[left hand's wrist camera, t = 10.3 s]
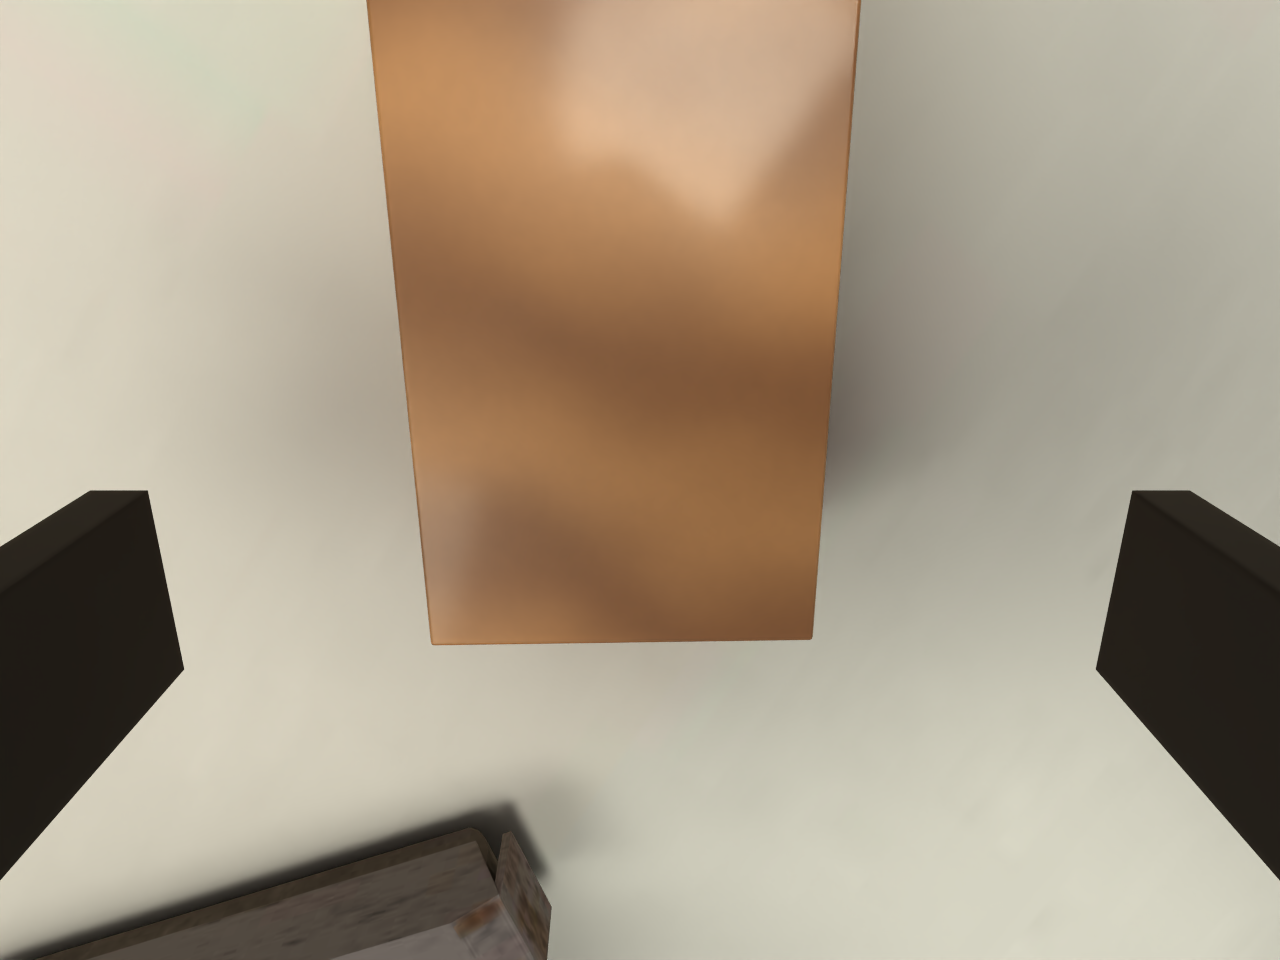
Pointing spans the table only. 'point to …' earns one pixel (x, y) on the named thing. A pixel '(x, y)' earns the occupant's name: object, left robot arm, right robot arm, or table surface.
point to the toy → (365, 913)
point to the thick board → (617, 307)
